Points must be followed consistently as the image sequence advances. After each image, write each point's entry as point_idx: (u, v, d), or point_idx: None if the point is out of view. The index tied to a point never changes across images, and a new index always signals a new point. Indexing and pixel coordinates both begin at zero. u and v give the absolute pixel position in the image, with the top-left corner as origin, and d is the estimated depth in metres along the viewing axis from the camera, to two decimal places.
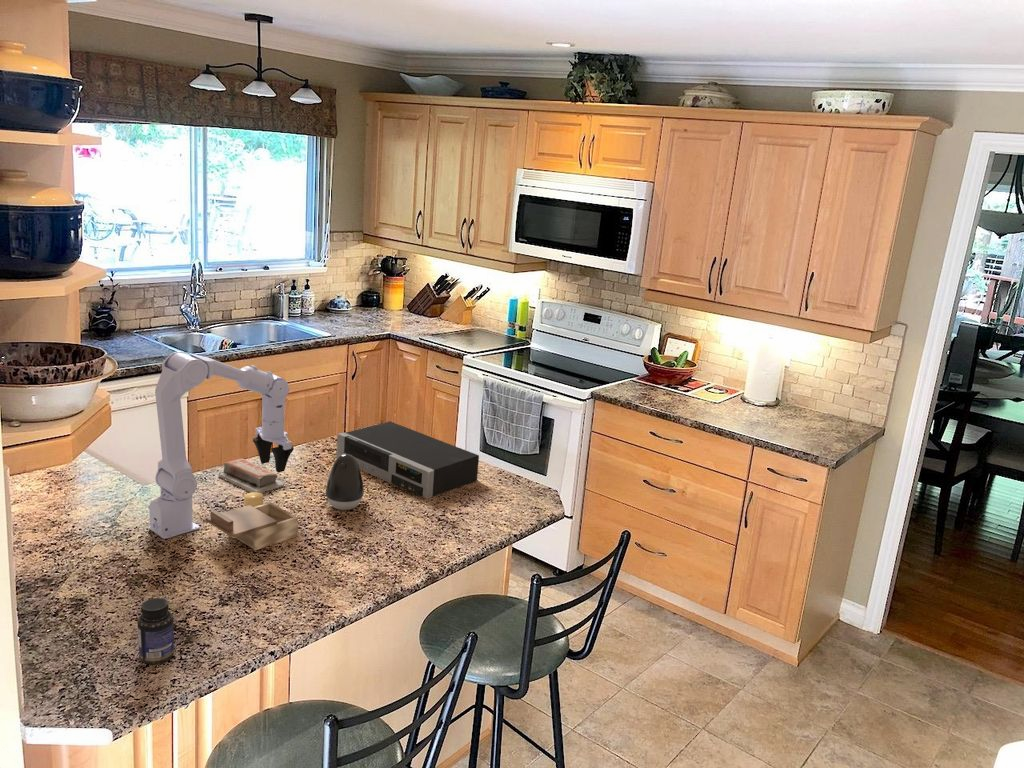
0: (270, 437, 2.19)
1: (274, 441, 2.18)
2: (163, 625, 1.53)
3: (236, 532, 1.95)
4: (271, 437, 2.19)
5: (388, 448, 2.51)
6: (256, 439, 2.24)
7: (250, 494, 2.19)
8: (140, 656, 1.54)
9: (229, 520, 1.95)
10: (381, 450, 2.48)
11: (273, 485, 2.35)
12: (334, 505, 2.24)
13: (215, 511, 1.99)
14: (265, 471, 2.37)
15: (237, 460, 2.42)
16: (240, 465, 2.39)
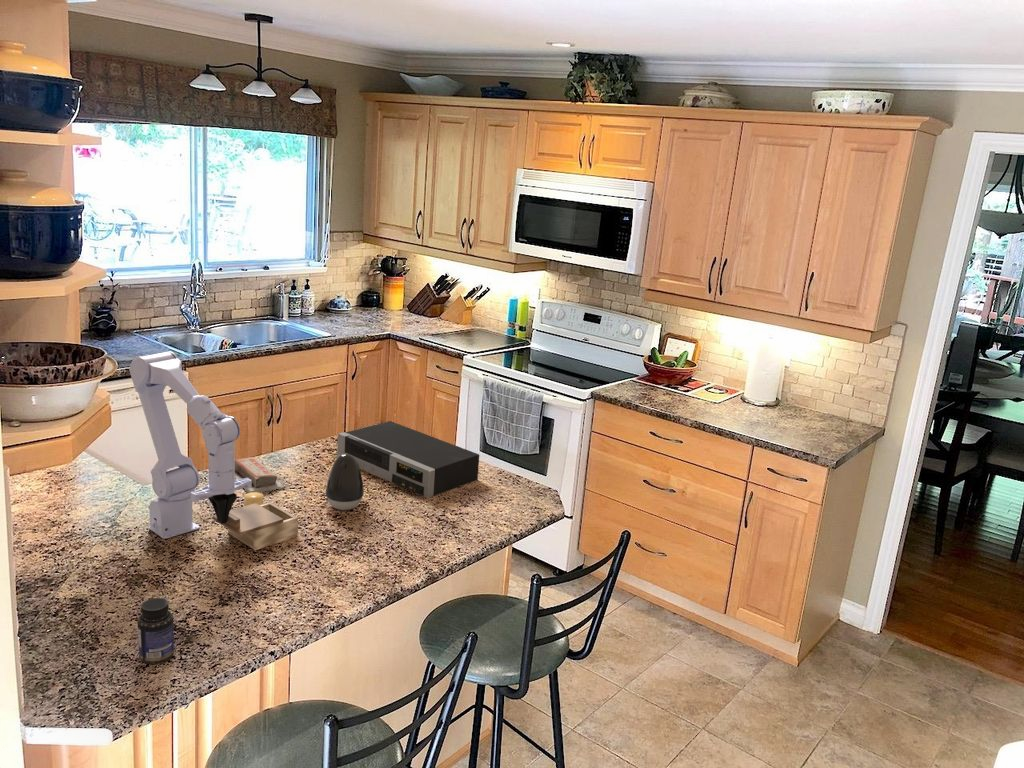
0: (209, 484, 1.95)
1: None
2: (163, 625, 1.53)
3: (243, 530, 1.96)
4: (209, 484, 1.95)
5: (388, 447, 2.51)
6: None
7: (250, 494, 2.19)
8: (140, 656, 1.54)
9: (236, 518, 1.97)
10: (382, 450, 2.49)
11: (271, 486, 2.34)
12: (334, 505, 2.24)
13: None
14: (266, 472, 2.36)
15: (247, 459, 2.44)
16: (246, 463, 2.40)
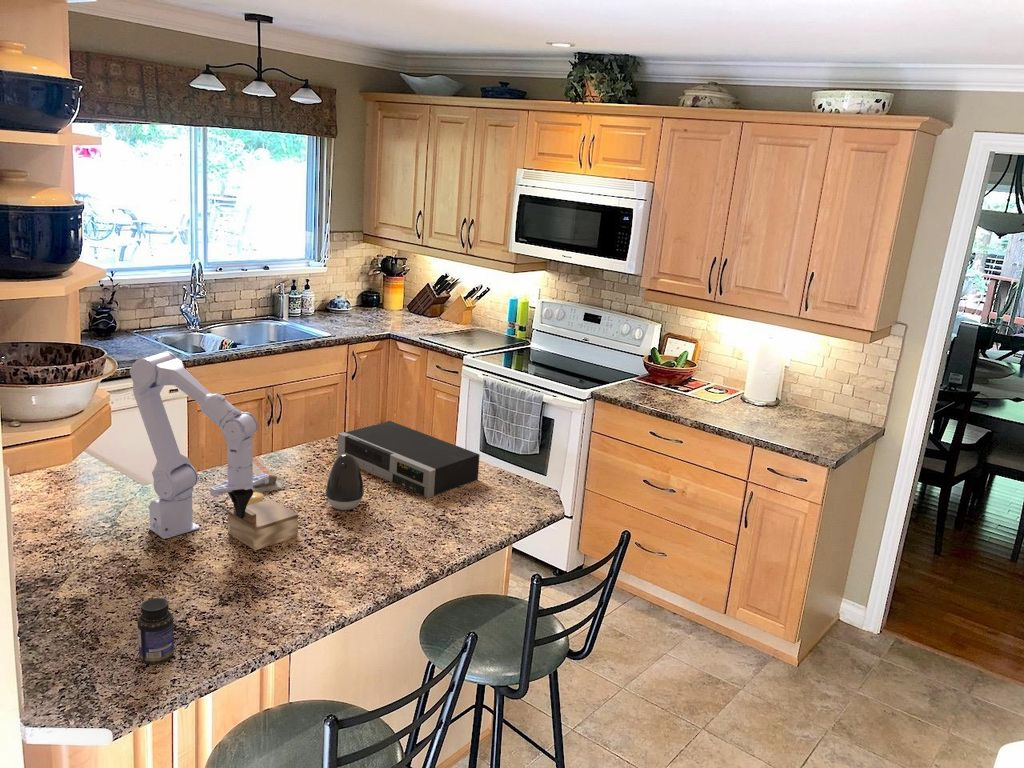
0: None
1: None
2: (163, 625, 1.53)
3: (259, 525, 2.00)
4: (227, 480, 1.98)
5: (389, 447, 2.51)
6: None
7: None
8: (140, 656, 1.54)
9: (252, 513, 2.00)
10: (382, 449, 2.49)
11: (270, 487, 2.34)
12: (334, 505, 2.24)
13: None
14: (266, 472, 2.36)
15: None
16: None
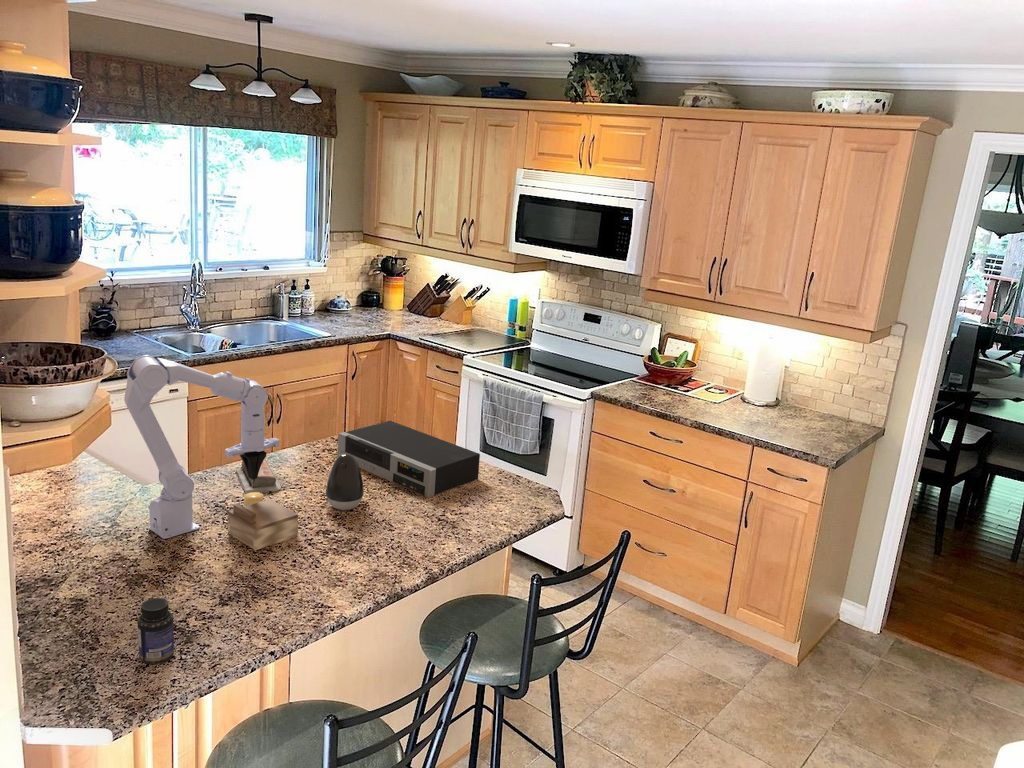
0: (241, 442, 2.12)
1: None
2: (163, 625, 1.53)
3: (259, 525, 1.99)
4: (241, 443, 2.12)
5: (389, 447, 2.52)
6: None
7: (250, 494, 2.19)
8: (140, 656, 1.54)
9: (252, 513, 2.00)
10: (382, 449, 2.49)
11: (268, 488, 2.34)
12: (334, 505, 2.24)
13: (238, 505, 2.04)
14: (266, 472, 2.36)
15: None
16: None
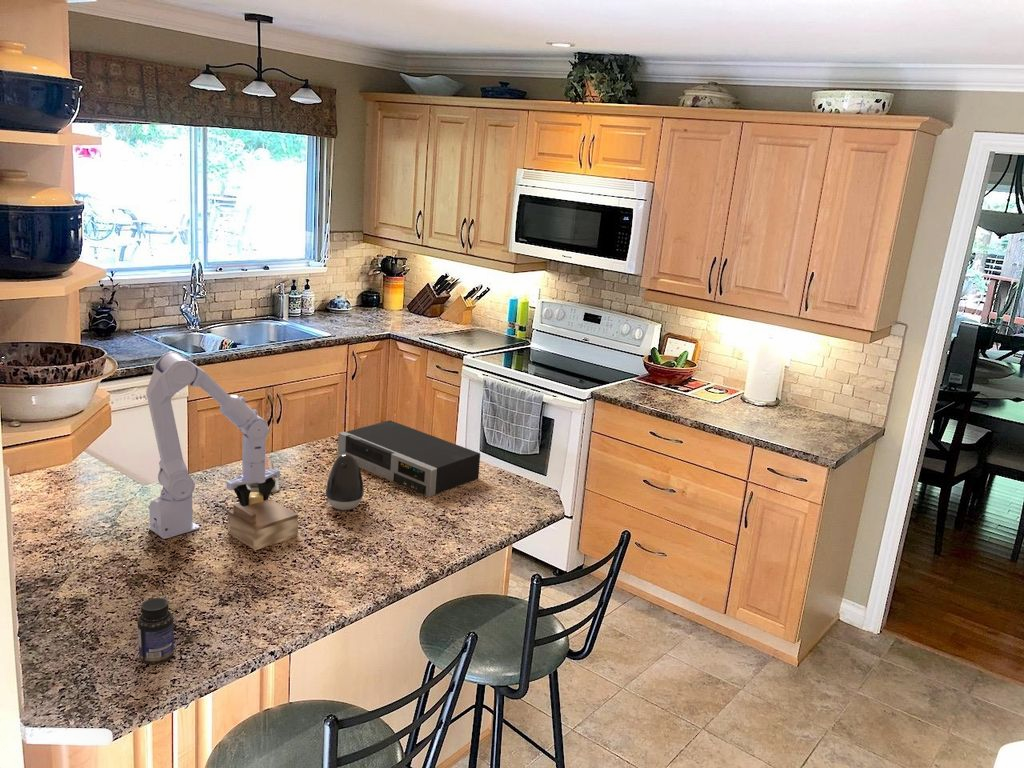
0: None
1: None
2: (163, 625, 1.53)
3: (259, 525, 1.99)
4: (242, 474, 2.16)
5: (389, 447, 2.52)
6: None
7: (250, 494, 2.19)
8: (140, 656, 1.54)
9: (252, 513, 2.00)
10: (383, 449, 2.49)
11: None
12: (334, 505, 2.24)
13: (238, 505, 2.04)
14: None
15: None
16: None
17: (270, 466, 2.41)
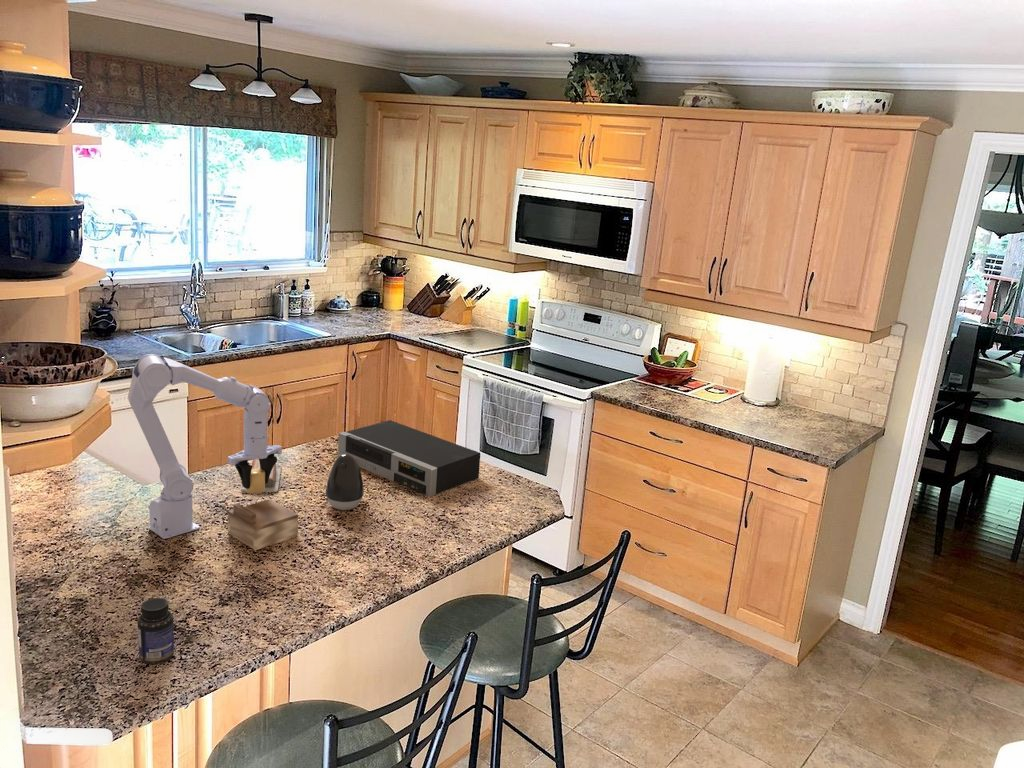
0: (243, 450, 2.12)
1: None
2: (163, 625, 1.53)
3: (259, 525, 1.99)
4: (243, 450, 2.12)
5: (390, 446, 2.52)
6: None
7: (252, 470, 2.15)
8: (140, 656, 1.54)
9: (252, 513, 2.00)
10: (383, 449, 2.49)
11: (265, 489, 2.33)
12: (334, 505, 2.24)
13: (238, 505, 2.04)
14: None
15: None
16: (258, 462, 2.42)
17: None
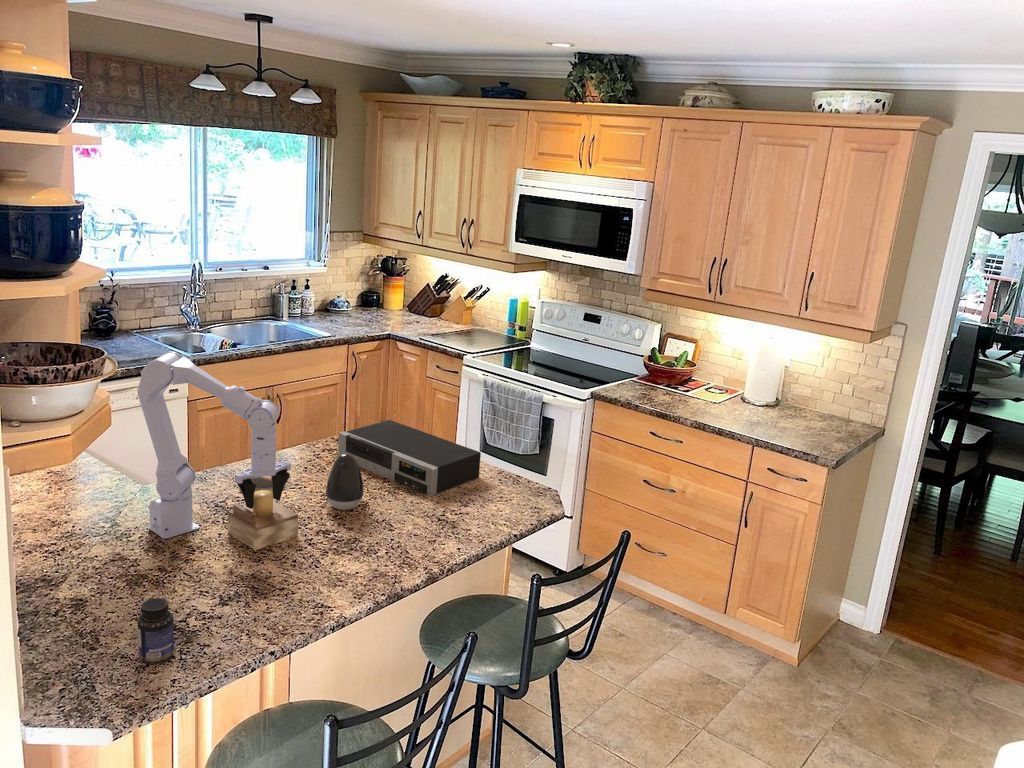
0: (251, 466, 2.03)
1: None
2: (163, 625, 1.53)
3: (258, 525, 1.99)
4: (251, 467, 2.03)
5: (390, 446, 2.52)
6: None
7: (260, 492, 2.06)
8: (140, 656, 1.54)
9: (252, 513, 2.00)
10: (384, 448, 2.50)
11: (263, 489, 2.32)
12: (334, 505, 2.24)
13: (237, 505, 2.04)
14: None
15: None
16: None
17: None
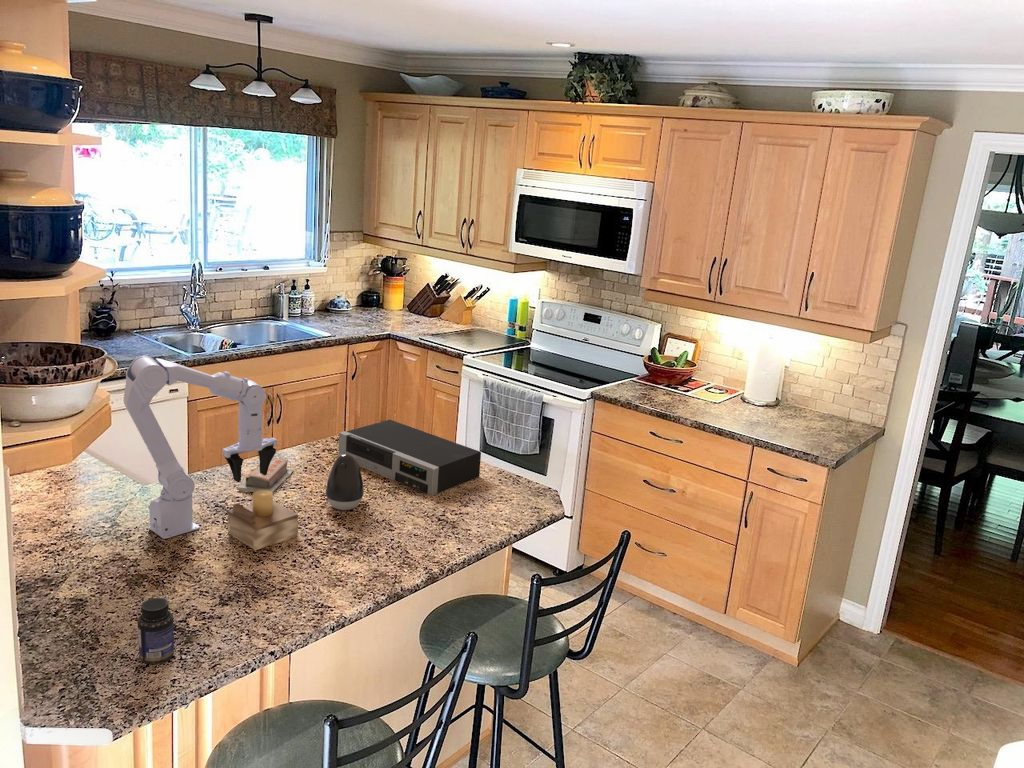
0: (239, 442, 2.13)
1: None
2: (163, 625, 1.53)
3: (258, 525, 1.99)
4: None
5: (390, 446, 2.53)
6: None
7: (259, 492, 2.06)
8: (140, 656, 1.54)
9: (252, 513, 2.00)
10: (384, 448, 2.50)
11: (260, 489, 2.32)
12: (334, 505, 2.24)
13: (237, 505, 2.04)
14: None
15: (276, 459, 2.45)
16: None
17: (277, 468, 2.40)
